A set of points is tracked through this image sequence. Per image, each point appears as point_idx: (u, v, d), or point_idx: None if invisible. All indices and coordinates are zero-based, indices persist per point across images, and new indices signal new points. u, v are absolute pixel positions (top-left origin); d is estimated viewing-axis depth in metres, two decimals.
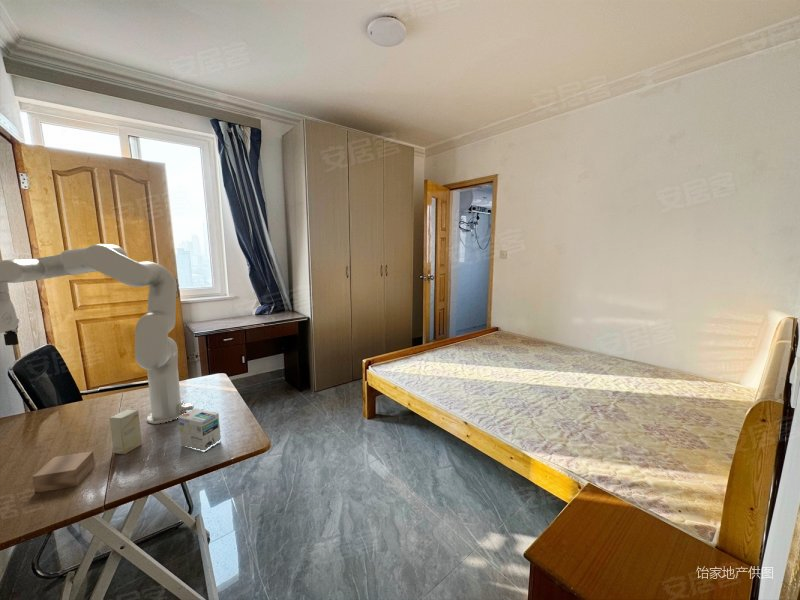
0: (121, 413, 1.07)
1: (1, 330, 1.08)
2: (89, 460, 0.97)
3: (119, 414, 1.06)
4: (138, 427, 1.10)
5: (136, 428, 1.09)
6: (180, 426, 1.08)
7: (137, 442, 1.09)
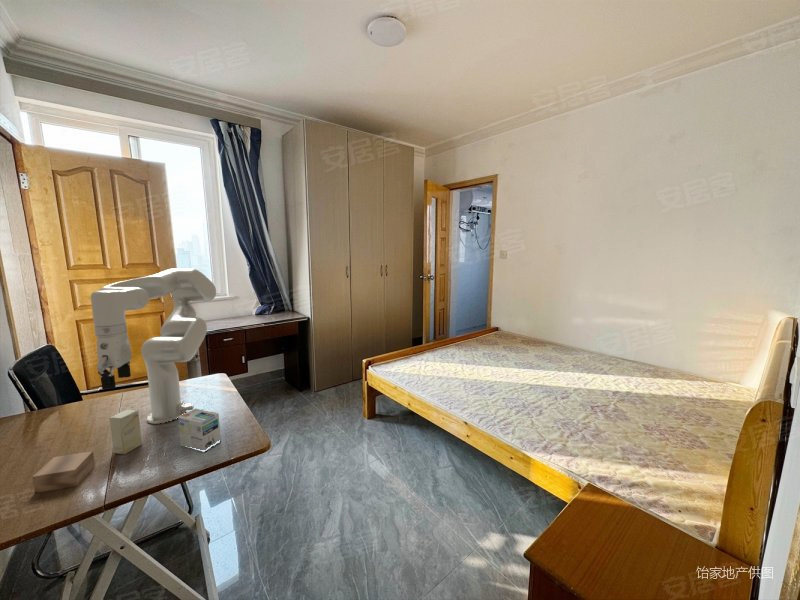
0: (121, 413, 1.07)
1: (120, 364, 1.03)
2: (89, 460, 0.97)
3: (119, 414, 1.06)
4: (138, 427, 1.10)
5: (136, 428, 1.09)
6: (180, 426, 1.08)
7: (137, 442, 1.09)
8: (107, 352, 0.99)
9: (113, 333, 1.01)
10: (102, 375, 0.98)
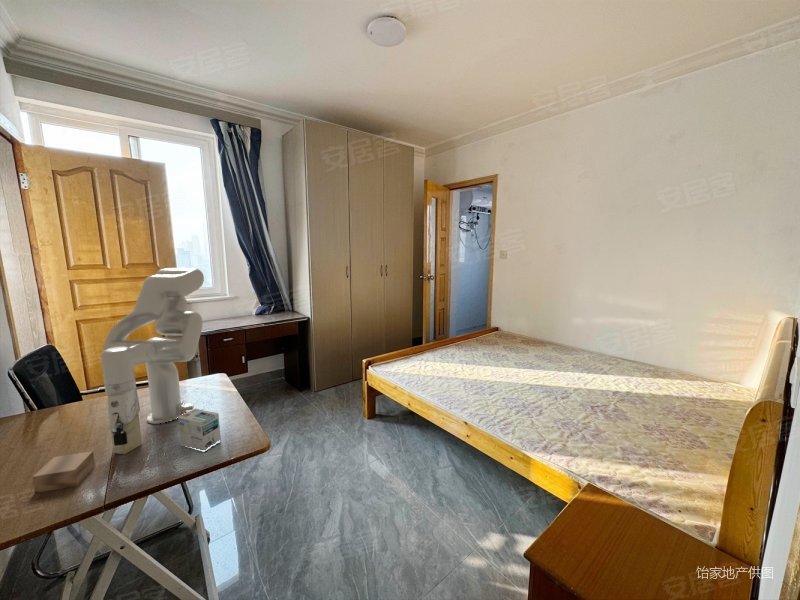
0: None
1: (130, 419, 1.05)
2: (89, 460, 0.97)
3: None
4: (138, 427, 1.10)
5: (136, 428, 1.09)
6: (180, 426, 1.08)
7: (137, 442, 1.09)
8: (118, 409, 1.02)
9: (123, 390, 1.03)
10: (115, 433, 1.02)
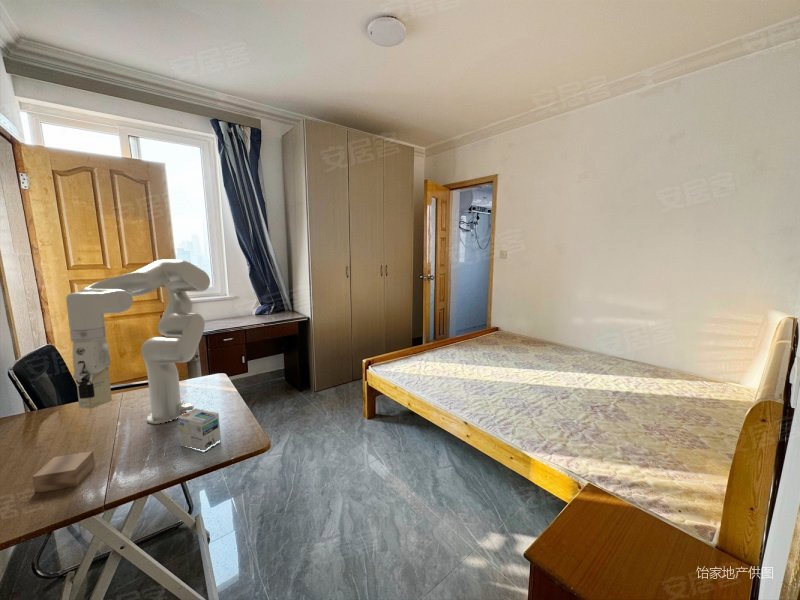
0: None
1: (98, 370, 0.96)
2: (89, 460, 0.97)
3: None
4: (108, 381, 1.01)
5: (106, 383, 1.00)
6: (180, 426, 1.08)
7: (106, 398, 1.00)
8: (84, 358, 0.93)
9: (91, 337, 0.95)
10: (80, 383, 0.93)
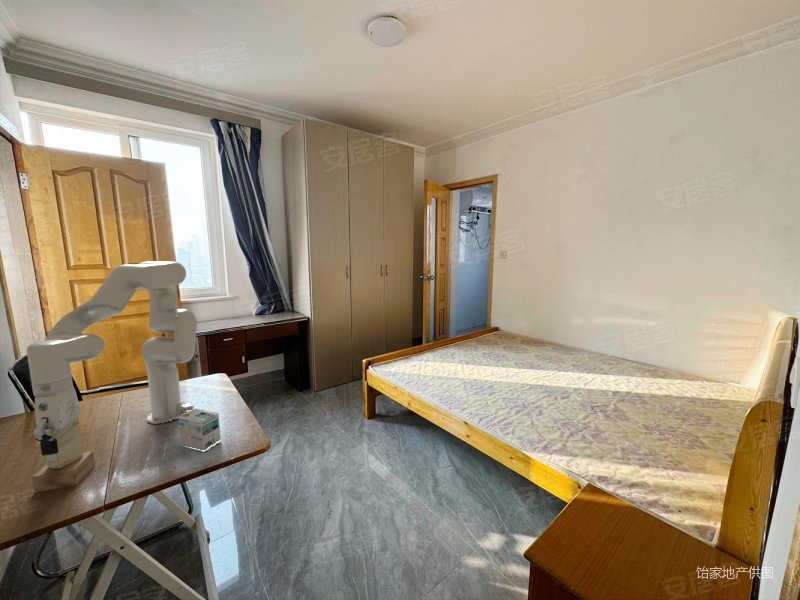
0: None
1: (64, 425, 0.90)
2: (89, 460, 0.98)
3: None
4: (78, 437, 0.95)
5: (76, 439, 0.95)
6: (180, 426, 1.08)
7: (77, 454, 0.95)
8: (47, 413, 0.87)
9: (54, 391, 0.88)
10: (41, 441, 0.86)
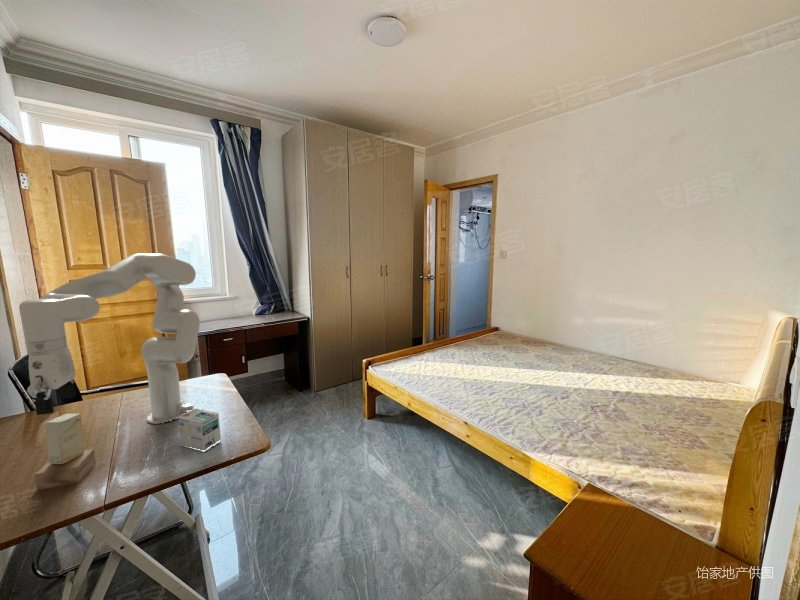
0: (59, 417, 0.95)
1: (59, 384, 0.88)
2: (90, 458, 0.99)
3: (57, 419, 0.94)
4: (80, 433, 0.97)
5: (78, 435, 0.97)
6: (180, 426, 1.08)
7: (78, 450, 0.97)
8: (41, 372, 0.85)
9: (48, 349, 0.86)
10: (35, 399, 0.84)
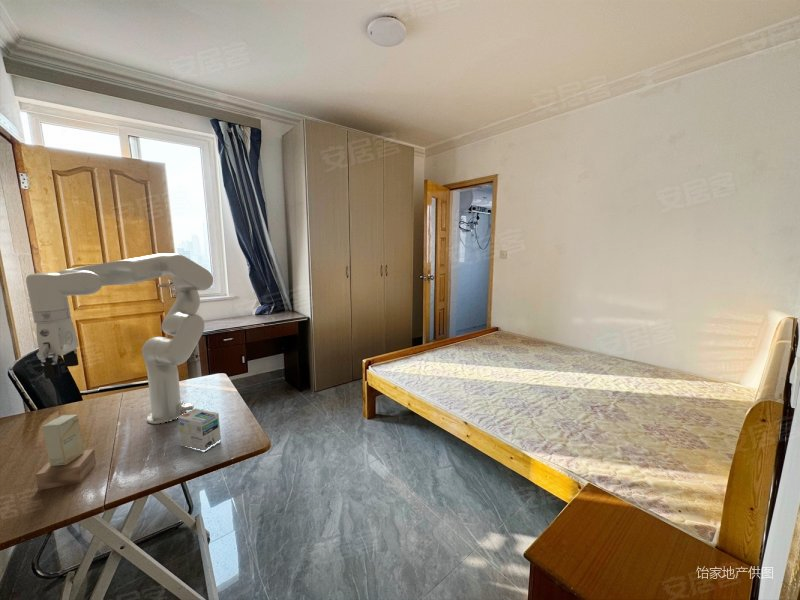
0: (56, 420, 0.93)
1: (65, 351, 0.96)
2: (91, 458, 0.99)
3: (54, 421, 0.92)
4: (79, 433, 0.97)
5: (77, 435, 0.96)
6: (180, 426, 1.08)
7: (79, 450, 0.97)
8: (48, 339, 0.93)
9: (54, 319, 0.94)
10: (44, 363, 0.92)
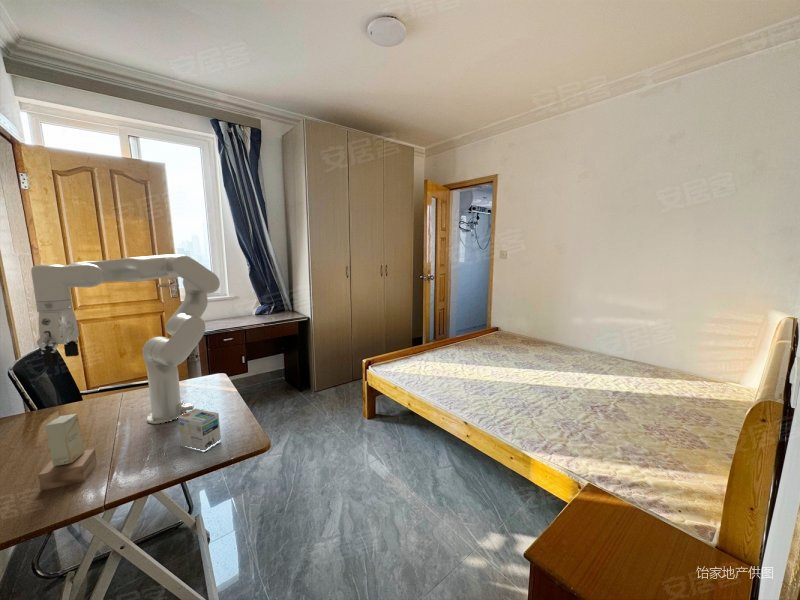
0: (57, 420, 0.93)
1: (65, 341, 0.99)
2: (92, 457, 0.99)
3: (56, 421, 0.93)
4: (79, 433, 0.97)
5: (78, 434, 0.97)
6: (180, 426, 1.08)
7: (80, 449, 0.97)
8: (49, 328, 0.96)
9: (56, 309, 0.98)
10: (44, 351, 0.95)
